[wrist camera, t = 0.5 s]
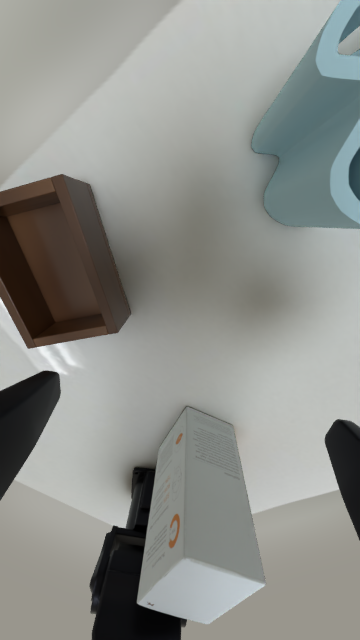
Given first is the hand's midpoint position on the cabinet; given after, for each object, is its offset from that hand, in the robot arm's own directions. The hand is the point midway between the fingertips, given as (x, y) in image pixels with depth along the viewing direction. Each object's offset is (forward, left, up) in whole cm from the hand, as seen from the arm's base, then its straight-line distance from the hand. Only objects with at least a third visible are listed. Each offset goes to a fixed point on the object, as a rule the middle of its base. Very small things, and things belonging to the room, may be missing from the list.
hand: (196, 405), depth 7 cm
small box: (-18, -3, -15) cm, 24 cm away
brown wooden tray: (+1, +11, -14) cm, 18 cm away
